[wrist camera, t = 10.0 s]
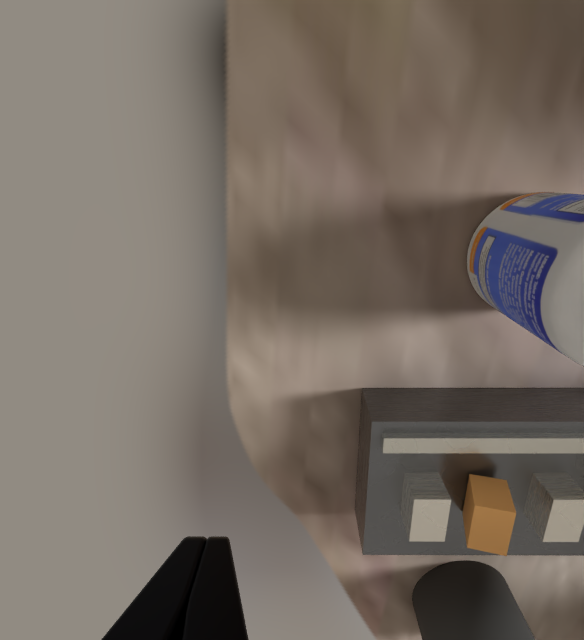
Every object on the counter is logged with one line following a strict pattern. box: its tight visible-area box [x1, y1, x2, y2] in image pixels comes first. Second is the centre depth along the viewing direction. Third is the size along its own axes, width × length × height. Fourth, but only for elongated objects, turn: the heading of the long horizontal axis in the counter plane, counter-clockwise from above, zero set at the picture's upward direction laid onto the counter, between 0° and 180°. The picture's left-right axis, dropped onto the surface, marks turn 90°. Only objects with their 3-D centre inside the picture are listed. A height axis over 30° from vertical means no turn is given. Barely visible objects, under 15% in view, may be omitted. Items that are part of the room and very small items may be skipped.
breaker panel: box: [355, 388, 584, 555], centre depth 20 cm, size 14×8×5 cm, turn 90°
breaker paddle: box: [462, 474, 516, 556], centre depth 19 cm, size 2×2×2 cm
